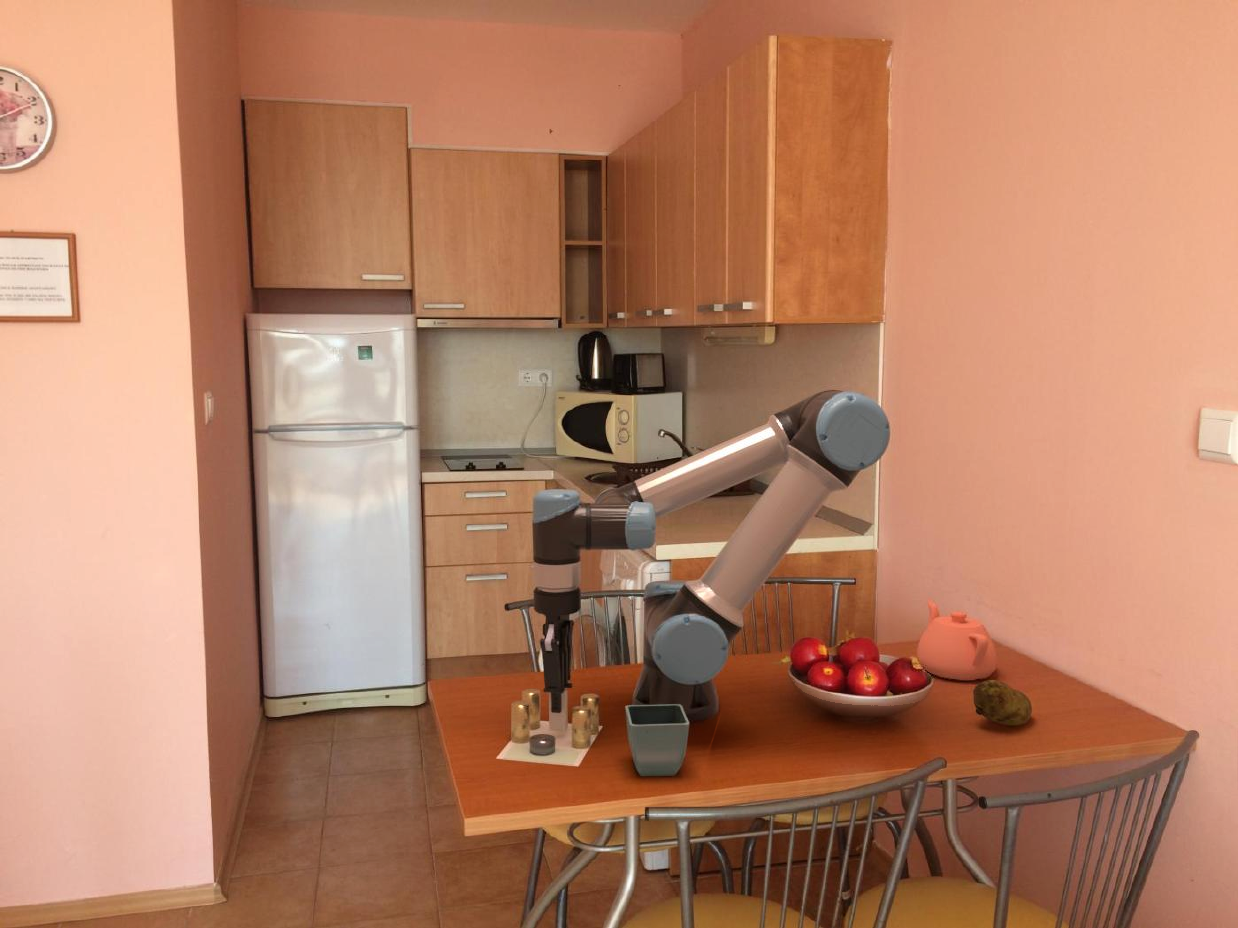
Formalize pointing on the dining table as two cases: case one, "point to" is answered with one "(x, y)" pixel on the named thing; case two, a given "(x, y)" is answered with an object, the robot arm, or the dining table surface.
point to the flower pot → (657, 738)
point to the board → (561, 756)
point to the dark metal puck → (542, 744)
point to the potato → (1001, 703)
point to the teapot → (956, 646)
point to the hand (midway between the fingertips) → (558, 729)
